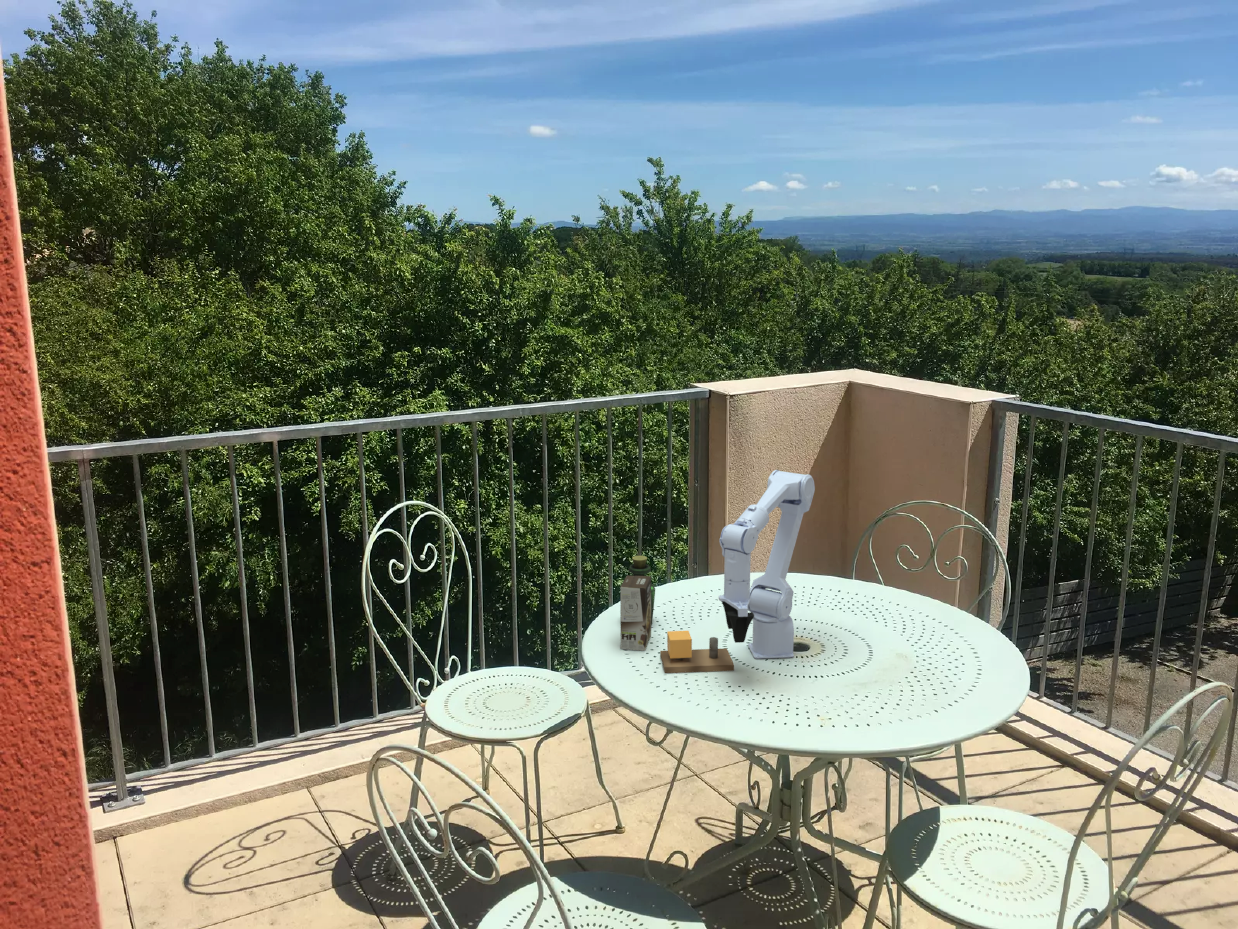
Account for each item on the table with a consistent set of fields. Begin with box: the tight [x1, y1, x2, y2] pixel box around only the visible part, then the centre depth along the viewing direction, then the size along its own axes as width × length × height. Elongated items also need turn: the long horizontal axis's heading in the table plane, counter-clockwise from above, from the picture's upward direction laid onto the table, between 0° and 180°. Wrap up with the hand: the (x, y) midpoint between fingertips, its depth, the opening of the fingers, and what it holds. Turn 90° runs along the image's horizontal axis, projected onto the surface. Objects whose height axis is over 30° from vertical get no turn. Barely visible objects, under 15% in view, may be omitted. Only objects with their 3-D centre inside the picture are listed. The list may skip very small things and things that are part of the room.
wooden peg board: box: [659, 636, 735, 674], centre depth 206 cm, size 16×9×6 cm, turn 94°
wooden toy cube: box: [666, 630, 693, 658], centre depth 205 cm, size 5×5×4 cm
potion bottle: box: [628, 555, 656, 626], centre depth 228 cm, size 8×8×18 cm
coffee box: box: [619, 574, 652, 652], centre depth 217 cm, size 9×6×16 cm
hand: (735, 635), depth 199 cm, fingers open, 7 cm apart
